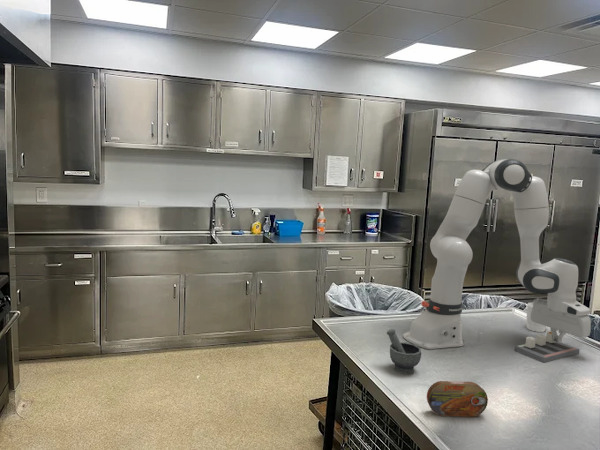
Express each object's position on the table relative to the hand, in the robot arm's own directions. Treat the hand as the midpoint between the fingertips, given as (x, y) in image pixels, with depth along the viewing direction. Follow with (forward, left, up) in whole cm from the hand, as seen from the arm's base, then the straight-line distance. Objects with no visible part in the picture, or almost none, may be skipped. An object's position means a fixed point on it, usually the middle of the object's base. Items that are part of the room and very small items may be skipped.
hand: (556, 341), depth 163 cm
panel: (-6, 0, -3) cm, 7 cm away
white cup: (+13, +17, -3) cm, 22 cm away
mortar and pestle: (-64, +10, -3) cm, 65 cm away
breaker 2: (-6, +2, -1) cm, 6 cm away
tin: (-69, -16, -3) cm, 71 cm away
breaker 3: (0, +2, -1) cm, 3 cm away
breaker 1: (-12, +2, -1) cm, 12 cm away
